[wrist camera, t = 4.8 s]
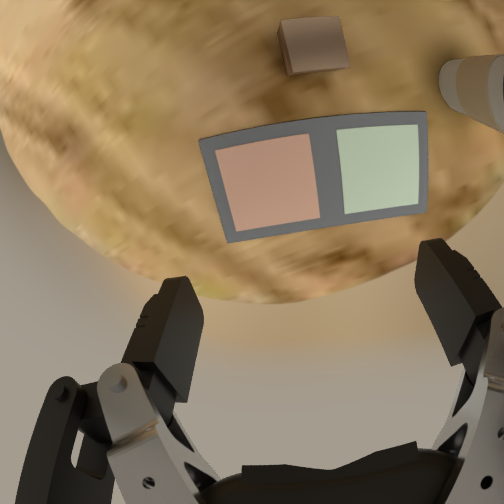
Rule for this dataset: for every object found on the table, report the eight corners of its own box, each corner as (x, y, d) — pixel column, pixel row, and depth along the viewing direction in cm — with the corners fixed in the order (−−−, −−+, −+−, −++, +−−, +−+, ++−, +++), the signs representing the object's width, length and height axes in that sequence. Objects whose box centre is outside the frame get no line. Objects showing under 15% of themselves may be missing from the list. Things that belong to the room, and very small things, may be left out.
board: (199, 139, 29) (198, 140, 28) (424, 111, 25) (427, 112, 25) (227, 241, 36) (227, 244, 35) (424, 210, 32) (427, 213, 32)
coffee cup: (421, 95, 24) (512, 117, 12) (442, 37, 20) (531, 34, 7) (470, 133, 26) (553, 174, 13) (489, 79, 21) (574, 100, 8)
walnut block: (277, 33, 22) (280, 20, 17) (324, 28, 22) (338, 16, 17) (287, 75, 25) (293, 72, 20) (334, 70, 24) (350, 67, 19)
